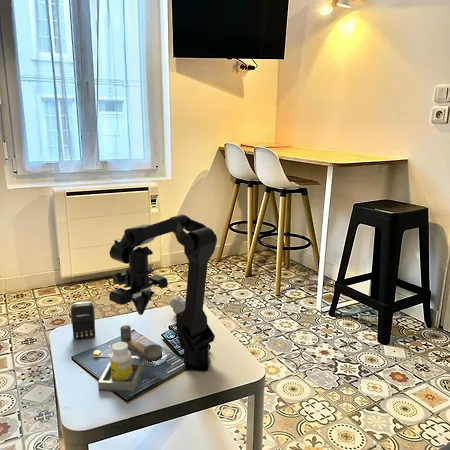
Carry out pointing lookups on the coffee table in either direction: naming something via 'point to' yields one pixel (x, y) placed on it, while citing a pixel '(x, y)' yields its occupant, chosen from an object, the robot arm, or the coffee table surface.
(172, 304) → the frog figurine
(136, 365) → the tray
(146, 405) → the coffee table surface
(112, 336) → the coffee table surface
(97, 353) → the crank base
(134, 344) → the crank
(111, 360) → the supplement bottle
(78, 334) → the battery charger
